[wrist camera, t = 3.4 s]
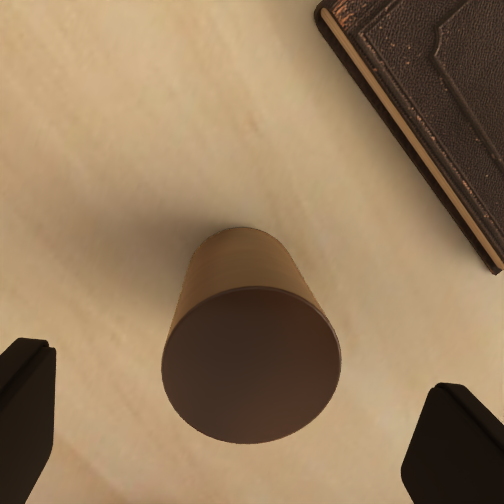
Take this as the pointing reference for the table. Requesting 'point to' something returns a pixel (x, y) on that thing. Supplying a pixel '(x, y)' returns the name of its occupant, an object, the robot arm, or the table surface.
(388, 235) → the table surface
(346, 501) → the table surface
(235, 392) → the walnut cylinder
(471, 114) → the hardcover book
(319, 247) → the table surface
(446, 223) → the table surface
